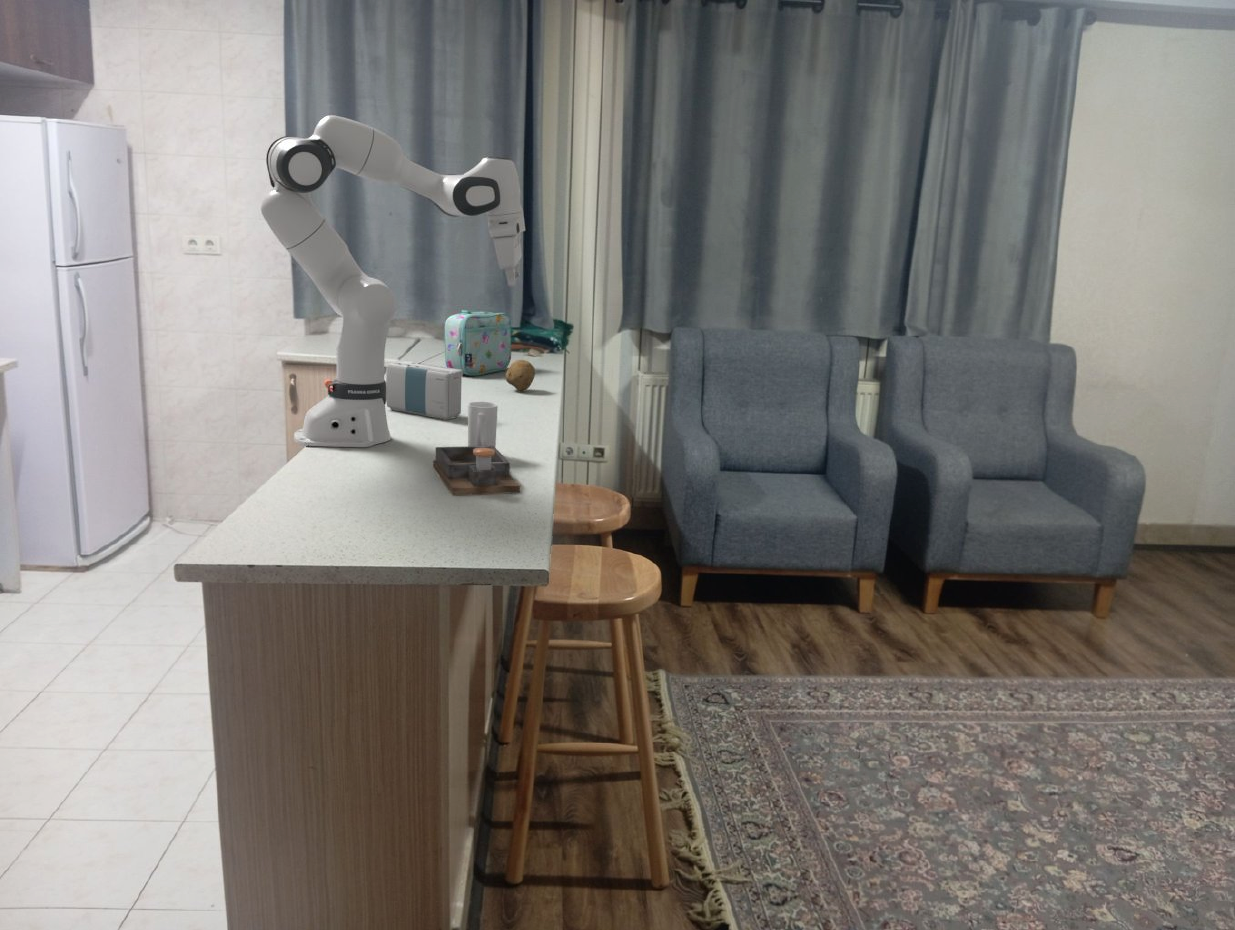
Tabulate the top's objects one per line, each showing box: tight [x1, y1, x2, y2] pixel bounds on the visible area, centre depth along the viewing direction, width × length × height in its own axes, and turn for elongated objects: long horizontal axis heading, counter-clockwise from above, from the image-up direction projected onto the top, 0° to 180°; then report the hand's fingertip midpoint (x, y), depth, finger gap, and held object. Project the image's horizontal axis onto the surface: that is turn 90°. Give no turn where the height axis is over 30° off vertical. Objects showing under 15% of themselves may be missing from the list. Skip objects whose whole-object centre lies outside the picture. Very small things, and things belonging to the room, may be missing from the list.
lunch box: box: [443, 309, 512, 377], centre depth 341 cm, size 27×10×21 cm, turn 148°
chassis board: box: [432, 445, 521, 496], centre depth 216 cm, size 14×22×4 cm, turn 20°
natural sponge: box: [505, 359, 536, 392], centre depth 315 cm, size 9×9×10 cm
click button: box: [473, 448, 495, 470], centre depth 208 cm, size 4×4×5 cm
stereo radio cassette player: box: [385, 344, 464, 421], centre depth 273 cm, size 21×8×20 cm, turn 62°
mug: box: [467, 401, 498, 448], centre depth 234 cm, size 10×7×12 cm, turn 0°
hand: (514, 282), depth 250 cm, fingers open, 8 cm apart
